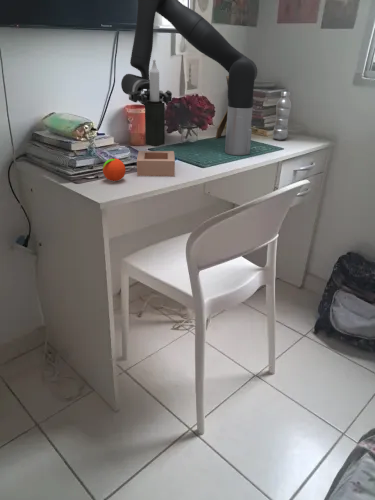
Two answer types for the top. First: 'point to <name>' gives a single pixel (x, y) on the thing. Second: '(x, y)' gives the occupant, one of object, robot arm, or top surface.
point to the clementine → (114, 169)
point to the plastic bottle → (282, 116)
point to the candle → (154, 112)
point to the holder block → (155, 163)
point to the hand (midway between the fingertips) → (156, 99)
